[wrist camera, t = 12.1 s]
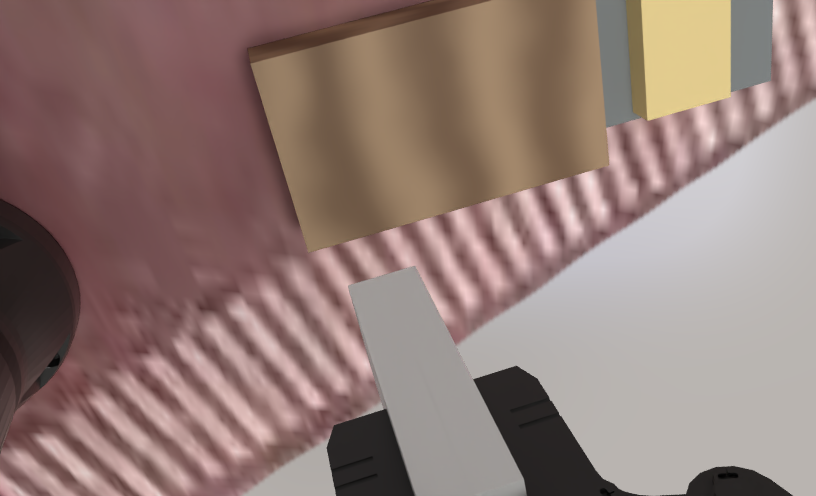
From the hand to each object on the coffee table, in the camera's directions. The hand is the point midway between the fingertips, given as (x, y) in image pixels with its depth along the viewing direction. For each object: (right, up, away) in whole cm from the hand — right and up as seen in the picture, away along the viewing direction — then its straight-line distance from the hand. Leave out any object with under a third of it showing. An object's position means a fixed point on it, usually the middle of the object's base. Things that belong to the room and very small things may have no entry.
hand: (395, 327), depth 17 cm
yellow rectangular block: (+18, +15, +32) cm, 39 cm away
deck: (+2, +11, +32) cm, 34 cm away
